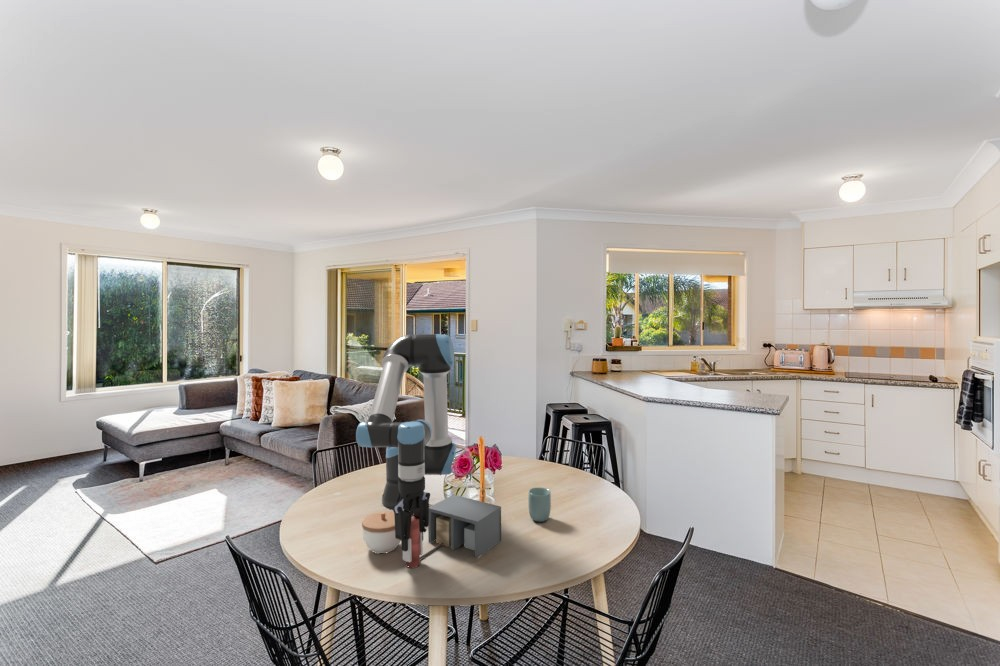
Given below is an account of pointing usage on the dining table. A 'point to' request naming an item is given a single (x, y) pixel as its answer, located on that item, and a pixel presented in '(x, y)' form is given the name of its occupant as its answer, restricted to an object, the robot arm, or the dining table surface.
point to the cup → (539, 504)
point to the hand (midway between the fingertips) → (412, 556)
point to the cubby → (468, 522)
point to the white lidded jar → (380, 531)
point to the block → (469, 536)
